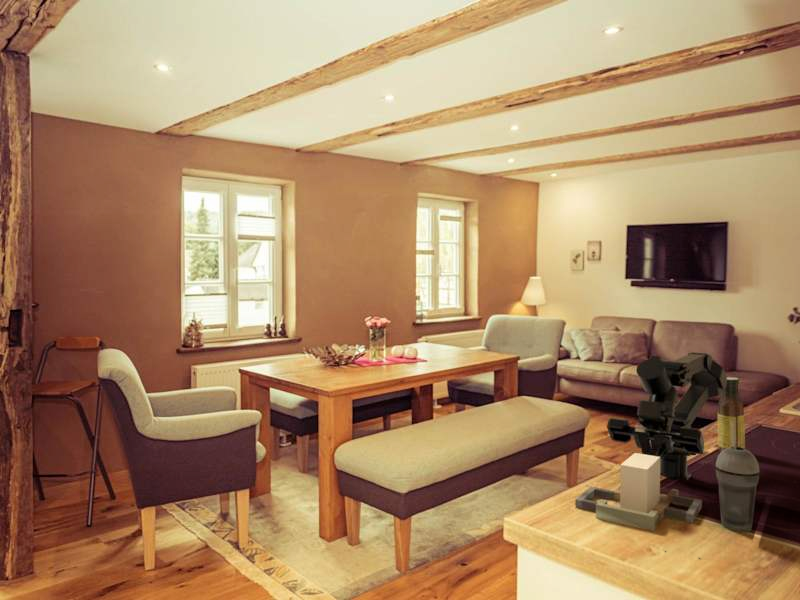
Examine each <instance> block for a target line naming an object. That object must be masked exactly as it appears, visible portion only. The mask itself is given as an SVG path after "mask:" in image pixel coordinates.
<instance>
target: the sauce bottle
mask: <svg viewBox="0 0 800 600" xmlns="http://www.w3.org/2000/svg"><path fill="white" fill-rule="evenodd" d="M726 377H727V376H726ZM739 384H740V379H739V378H738V377H733V376H731V377H730V376H728V377H727V385H726V388H725V389H723V391H722V392H721V397H720V399H719V401H718V405H717V441H718V442H717V445H718V448H719V449H718V450H719V452H720V453H721V452H722V451H723V450H725V449H726V448H729V447H733V439H732V426H731V422H734V424H735V437H736V447H741V448H744V449H746V436H745V435H746V434H745V433H746V430H745V413H744V411H745V409H744V403H743V400H742V399H741V397H740V395H739Z"/></svg>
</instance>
